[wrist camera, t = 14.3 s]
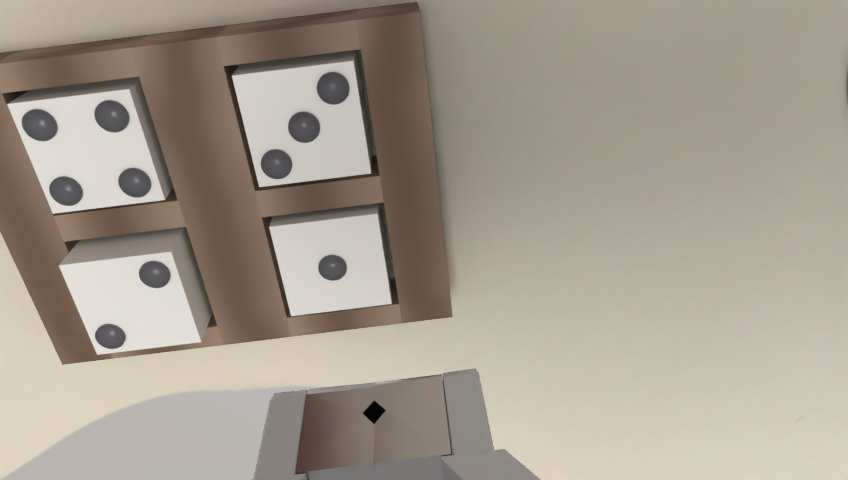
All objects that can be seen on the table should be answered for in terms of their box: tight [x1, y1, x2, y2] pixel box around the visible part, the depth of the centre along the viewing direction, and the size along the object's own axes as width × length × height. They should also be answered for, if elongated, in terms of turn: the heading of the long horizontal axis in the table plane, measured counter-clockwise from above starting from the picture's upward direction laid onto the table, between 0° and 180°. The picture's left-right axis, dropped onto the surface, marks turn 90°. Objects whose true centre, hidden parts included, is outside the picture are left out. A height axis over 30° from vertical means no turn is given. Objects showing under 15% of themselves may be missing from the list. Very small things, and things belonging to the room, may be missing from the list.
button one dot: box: [269, 203, 392, 316], centre depth 40 cm, size 6×6×3 cm
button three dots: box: [232, 50, 372, 187], centre depth 36 cm, size 6×6×3 cm
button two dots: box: [59, 227, 213, 355], centre depth 38 cm, size 6×6×3 cm
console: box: [0, 2, 452, 365], centre depth 38 cm, size 24×18×3 cm
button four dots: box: [7, 77, 173, 214], centre depth 35 cm, size 6×6×3 cm
